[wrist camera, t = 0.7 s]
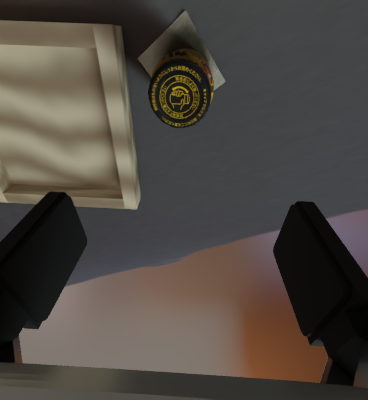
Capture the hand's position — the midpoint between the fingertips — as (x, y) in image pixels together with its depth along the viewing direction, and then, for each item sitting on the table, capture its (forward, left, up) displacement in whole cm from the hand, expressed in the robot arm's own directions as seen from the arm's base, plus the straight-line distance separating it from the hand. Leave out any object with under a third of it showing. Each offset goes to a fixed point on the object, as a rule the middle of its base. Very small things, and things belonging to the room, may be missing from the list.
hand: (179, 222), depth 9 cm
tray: (+4, -20, -24) cm, 32 cm away
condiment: (-4, -1, -24) cm, 24 cm away
